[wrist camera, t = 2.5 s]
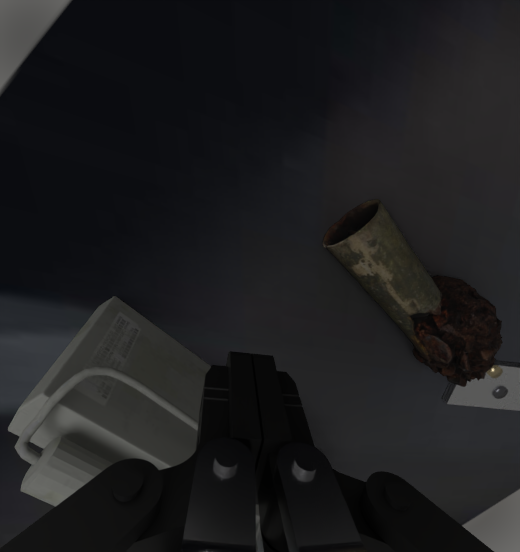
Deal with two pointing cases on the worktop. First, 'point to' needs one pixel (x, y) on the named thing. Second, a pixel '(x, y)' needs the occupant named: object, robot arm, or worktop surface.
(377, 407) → the worktop surface
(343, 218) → the cylinder with dark lump
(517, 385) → the hinge leaves
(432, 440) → the worktop surface
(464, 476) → the worktop surface
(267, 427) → the robot arm
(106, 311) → the geiger counter
